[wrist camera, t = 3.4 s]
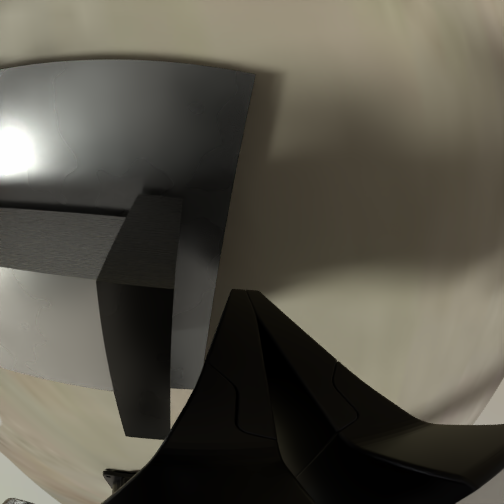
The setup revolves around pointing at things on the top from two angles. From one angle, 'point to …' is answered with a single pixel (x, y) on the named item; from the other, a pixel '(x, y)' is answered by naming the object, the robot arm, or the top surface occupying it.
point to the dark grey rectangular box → (94, 303)
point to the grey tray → (132, 160)
